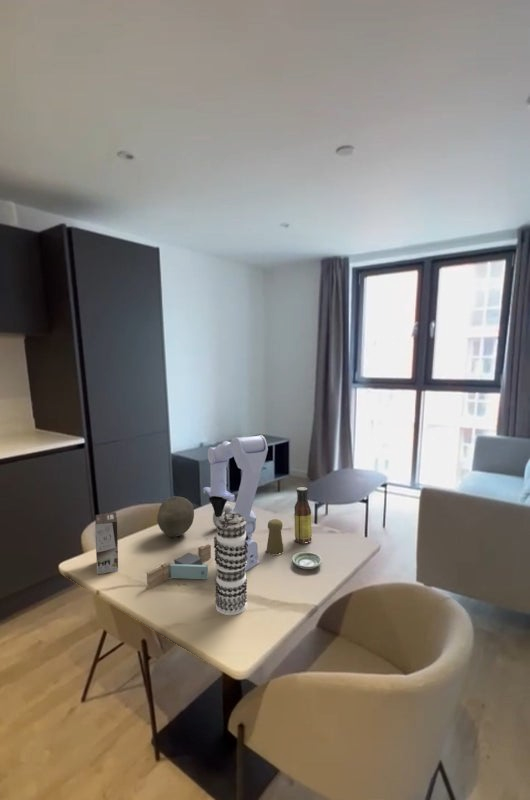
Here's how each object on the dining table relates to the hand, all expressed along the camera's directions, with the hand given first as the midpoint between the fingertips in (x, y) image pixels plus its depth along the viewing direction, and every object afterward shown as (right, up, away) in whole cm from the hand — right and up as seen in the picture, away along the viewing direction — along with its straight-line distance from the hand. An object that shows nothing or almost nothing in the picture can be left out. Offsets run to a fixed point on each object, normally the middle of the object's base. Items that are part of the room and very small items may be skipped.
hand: (218, 515), depth 141 cm
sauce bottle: (+31, -10, +2) cm, 33 cm away
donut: (0, -9, +14) cm, 16 cm away
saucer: (+31, -12, -15) cm, 36 cm away
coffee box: (-34, -11, -17) cm, 39 cm away
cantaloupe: (-17, -10, +6) cm, 20 cm away
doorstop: (-7, -12, -19) cm, 23 cm away
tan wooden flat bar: (-9, -12, -19) cm, 24 cm away
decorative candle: (+8, -13, -37) cm, 40 cm away
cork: (+21, -11, -6) cm, 24 cm away
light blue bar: (-7, -12, -24) cm, 28 cm away
